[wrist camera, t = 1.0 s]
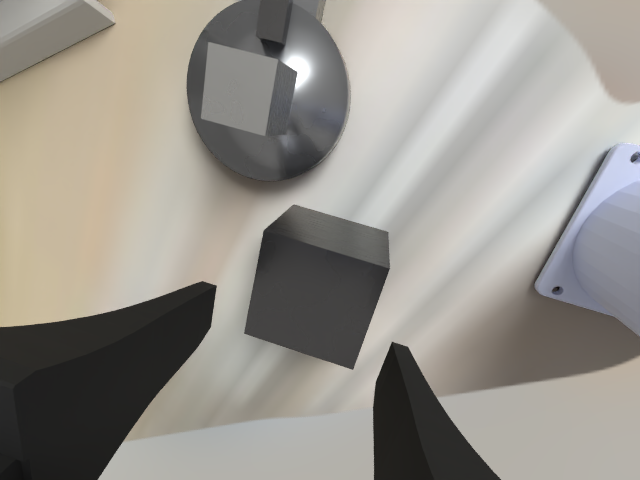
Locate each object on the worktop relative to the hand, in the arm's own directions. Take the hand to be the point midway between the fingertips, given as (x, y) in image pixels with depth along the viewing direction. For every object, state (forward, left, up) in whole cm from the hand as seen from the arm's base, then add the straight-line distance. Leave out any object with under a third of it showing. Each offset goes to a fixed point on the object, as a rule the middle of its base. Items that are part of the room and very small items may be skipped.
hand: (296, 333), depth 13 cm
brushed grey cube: (0, 0, -7) cm, 7 cm away
